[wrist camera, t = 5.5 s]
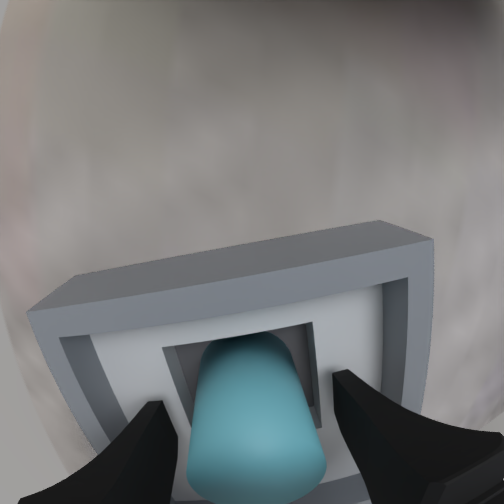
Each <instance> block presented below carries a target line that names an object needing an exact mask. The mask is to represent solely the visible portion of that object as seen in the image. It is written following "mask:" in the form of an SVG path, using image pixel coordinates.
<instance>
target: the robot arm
mask: <svg viewBox="0 0 504 504" xmlns="http://www.w3.org/2000/svg"><path fill="white" fill-rule="evenodd" d="M332 383H333V403H334V414H335V417H336V420H337V423H338V426H339V429H340V432H341V434H342V436H343V439H344V441H345V443H346V445H347V447H348V449H349V451H350V453H351V455H352V457H353V459H354V461H355V463H356V465H357V467H358V469H359V471H360V473H361V475H362V478H363V480H364V482H365V485H366V488H367V491H368V494H369V497H370V500H371V503H372V504H504V480H503V478H504V436H503V435H502V434H501V433H500V432H486V431H477V430H470V429H465V428H460V427H455V426H451V425H448V424H444V423H441V422H438V421H435V420H432V419H429V418H426V417H424V416H422V415H419V414H417V413H415V412H412V411H410V410H408V409H406V408H404V407H402V406H401V405H399V404H397V403H395V402H394V401H392V400H391V399H389V398H387V397H386V396H384V395H383V394H381V393H380V392H378V391H377V390H375V389H374V388H373V387H371V386H370V385H368V384H367V383H366V382H364V381H363V380H362V379H361V378H359V377H358V376H357V375H355V374H354V373H353V372H352V371H350V370H349V369H345V370H341V371H337V372H333V373H332ZM177 459H178V435H177V433H176V431H175V428H174V426H173V424H172V422H171V419H170V417H169V415H168V412H167V410H166V408H165V405H164V403H163V400H160V401H148V402H147V403H146V404H145V405H144V406H143V407H142V408H141V410H140V411H139V412H138V413H137V414H136V416H135V417H134V418H133V419H132V420H131V421H130V423H129V424H128V425H127V426H126V427H125V428H124V429H123V431H122V432H121V433H120V434H119V435H118V436H117V437H116V438H115V439H114V440H113V441H112V442H111V443H110V444H109V445H108V446H107V447H106V448H105V449H104V450H103V451H102V452H101V453H100V454H99V455H98V456H97V457H95V458H94V459H93V460H92V461H90V462H89V463H88V464H87V465H85V466H84V467H83V468H81V469H80V470H78V471H77V472H75V473H74V474H72V475H71V476H69V477H68V478H66V479H64V480H62V481H61V482H59V483H57V484H55V485H53V486H51V487H49V488H47V489H45V490H42V491H40V492H37V493H35V494H32V495H29V496H26V497H23V498H21V499H20V500H19V502H18V504H170V500H171V494H172V488H173V483H174V477H175V471H176V465H177Z"/></svg>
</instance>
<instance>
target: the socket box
mask: <svg viewBox="0 0 504 504" xmlns="http://www.w3.org/2000/svg"><path fill="white" fill-rule="evenodd" d="M433 297H434V239H432V238H429V237H426V236H424V235H421V234H418V233H415V232H413V231H410V230H407V229H404V228H401V227H398V226H396V225H393V224H390V223H387V222H384V221H381V220H378V221H372V222H366V223H361V224H355V225H349V226H343V227H338V228H332V229H326V230H321V231H315V232H309V233H304V234H298V235H293V236H287V237H281V238H276V239H270V240H265V241H259V242H254V243H248V244H243V245H237V246H232V247H226V248H221V249H215V250H210V251H204V252H199V253H194V254H188V255H183V256H177V257H172V258H167V259H161V260H156V261H151V262H145V263H140V264H135V265H130V266H124V267H119V268H114V269H108V270H103V271H98V272H93V273H88V274H82V275H77V276H74V277H73V278H71V279H70V280H68V281H67V282H66V283H64V284H63V285H61V286H60V287H59V288H57V289H56V290H55V291H53V292H52V293H51V294H49V295H48V296H47V297H45V298H44V299H42V300H41V301H40V302H39V303H37V304H36V305H35V306H33V307H32V308H31V309H29V310H28V311H27V312H26V313H27V316H28V319H29V321H30V324H31V327H32V329H33V332H34V334H35V337H36V339H37V342H38V344H39V346H40V349H41V351H42V353H43V356H44V358H45V360H46V362H47V364H48V367H49V369H50V371H51V373H52V375H53V377H54V379H55V381H56V383H57V385H58V387H59V389H60V391H61V393H62V395H63V397H64V399H65V401H66V403H67V404H68V406H69V408H70V410H71V412H72V413H73V415H74V417H75V419H76V420H77V422H78V424H79V426H80V427H81V429H82V431H83V432H84V434H85V435H86V437H87V439H88V440H89V442H90V443H91V445H92V447H93V448H94V450H95V451H96V453H97V454H98V455H99V454H100V453H101V452H102V451H103V450H104V449H105V448H106V447H107V446H108V445H109V444H110V443H111V442H112V441H113V440H114V439H115V438H116V437H117V436H118V435H119V434H120V433H121V432H122V431H123V429H124V428H125V427H126V426H127V425H128V424H129V423H130V421H131V420H132V419H133V418H134V417H135V416H136V414H137V413H138V412H139V411H140V410H141V408H142V407H143V406H144V405H145V404H146V403H147V402H148V401H160V400H163V403H164V405H165V408H166V410H167V412H168V415H169V417H170V419H171V422H172V424H173V426H174V428H175V431H176V433H177V435H178V459H177V465H176V471H175V477H174V483H173V488H172V494H171V500H170V504H215V503H213V502H210V501H208V500H206V499H204V498H203V497H201V496H200V495H198V494H197V493H196V492H195V491H194V490H193V489H192V487H191V486H190V484H189V483H188V480H187V477H186V469H187V460H188V452H189V444H190V435H191V427H192V420H193V412H194V404H195V397H196V390H197V382H198V375H199V368H200V362H201V357H202V355H203V352H204V351H205V349H206V347H207V346H208V345H209V344H210V343H211V342H212V341H213V340H216V339H222V338H228V337H234V336H240V335H246V334H252V333H257V332H263V331H267V332H269V333H272V334H273V335H275V336H277V337H278V338H280V339H281V340H282V341H283V342H284V343H285V344H286V346H287V347H288V348H289V350H290V352H291V355H292V358H293V361H294V364H295V367H296V370H297V373H298V376H299V379H300V382H301V385H302V388H303V392H304V395H305V398H306V401H307V404H308V407H309V410H310V413H311V416H312V419H313V422H314V425H315V428H316V431H317V434H318V437H319V440H320V443H321V446H322V449H323V452H324V455H325V459H326V463H327V468H326V472H325V475H324V477H323V479H322V480H321V482H320V483H319V484H318V485H317V486H316V487H315V488H314V489H313V490H312V491H310V492H309V493H308V494H306V495H305V496H303V497H301V498H299V499H297V500H295V501H293V502H290V503H287V504H372V503H371V500H370V497H369V494H368V491H367V488H366V485H365V482H364V480H363V478H362V475H361V473H360V471H359V469H358V467H357V465H356V463H355V461H354V459H353V457H352V455H351V453H350V451H349V449H348V447H347V445H346V443H345V441H344V439H343V436H342V434H341V432H340V429H339V426H338V423H337V420H336V417H335V414H334V403H333V383H332V373H333V372H337V371H341V370H345V369H349V370H350V371H352V372H353V373H354V374H355V375H357V376H358V377H359V378H361V379H362V380H363V381H364V382H366V383H367V384H368V385H370V386H371V387H373V388H374V389H375V390H377V391H378V392H380V393H381V394H383V395H384V396H386V397H387V398H389V399H391V400H392V401H394V402H395V403H397V404H399V405H401V406H402V407H404V408H406V409H408V410H410V411H412V412H415V413H417V414H419V415H420V413H421V408H422V402H423V396H424V390H425V384H426V377H427V369H428V361H429V352H430V342H431V331H432V317H433Z"/></svg>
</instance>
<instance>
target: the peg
mask: <svg viewBox="0 0 504 504" xmlns="http://www.w3.org/2000/svg"><path fill="white" fill-rule="evenodd" d="M326 468H327V463H326V459H325V455H324V452H323V449H322V446H321V443H320V440H319V437H318V434H317V431H316V428H315V425H314V422H313V419H312V416H311V413H310V410H309V407H308V404H307V401H306V398H305V395H304V392H303V388H302V385H301V382H300V379H299V376H298V373H297V370H296V367H295V364H294V361H293V358H292V355H291V352H290V350H289V348H288V347H287V346H286V344H285V343H284V342H283V341H282V340H281V339H280V338H278V337H277V336H275V335H273V334H272V333H269V332H267V331H263V332H257V333H252V334H246V335H240V336H234V337H228V338H222V339H216V340H213V341H212V342H211V343H210V344H209V345H208V346H207V347H206V349H205V351H204V352H203V355H202V357H201V362H200V368H199V375H198V382H197V390H196V397H195V404H194V412H193V420H192V427H191V435H190V444H189V452H188V460H187V469H186V477H187V480H188V483H189V484H190V486H191V487H192V489H193V490H194V491H195V492H196V493H197V494H198V495H200V496H201V497H203V498H204V499H206V500H208V501H210V502H213V503H215V504H287V503H290V502H293V501H295V500H297V499H299V498H301V497H303V496H305V495H306V494H308V493H309V492H310V491H312V490H313V489H314V488H315V487H316V486H317V485H318V484H319V483H320V482H321V480H322V479H323V477H324V475H325V472H326Z"/></svg>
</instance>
